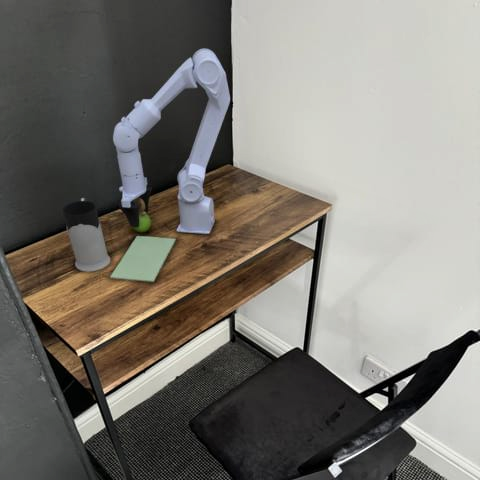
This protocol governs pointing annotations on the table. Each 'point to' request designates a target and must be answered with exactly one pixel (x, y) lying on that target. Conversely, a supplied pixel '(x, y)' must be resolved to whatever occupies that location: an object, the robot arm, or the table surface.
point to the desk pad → (143, 259)
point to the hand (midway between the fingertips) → (139, 219)
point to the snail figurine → (142, 217)
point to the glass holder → (86, 235)
